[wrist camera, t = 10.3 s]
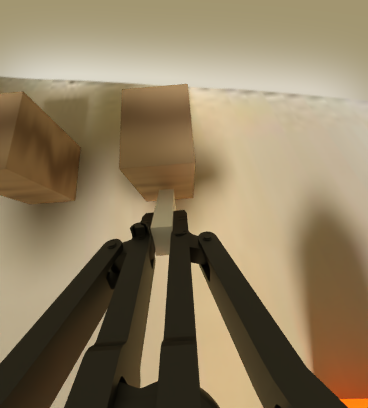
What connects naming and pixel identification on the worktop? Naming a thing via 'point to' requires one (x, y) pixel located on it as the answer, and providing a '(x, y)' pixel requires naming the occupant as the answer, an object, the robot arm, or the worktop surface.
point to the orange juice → (355, 403)
